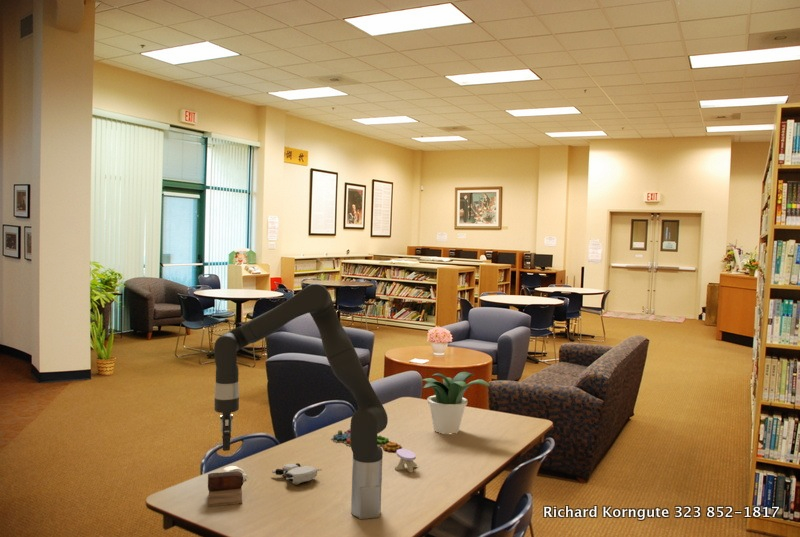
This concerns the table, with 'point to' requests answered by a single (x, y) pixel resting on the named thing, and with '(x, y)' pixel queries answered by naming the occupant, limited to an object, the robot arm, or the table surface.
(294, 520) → the table surface
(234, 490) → the base brick
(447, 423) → the potted plant
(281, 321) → the robot arm
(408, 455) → the toy table
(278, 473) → the robot toy
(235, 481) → the brick
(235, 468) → the car
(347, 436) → the gear puzzle
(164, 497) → the table surface
